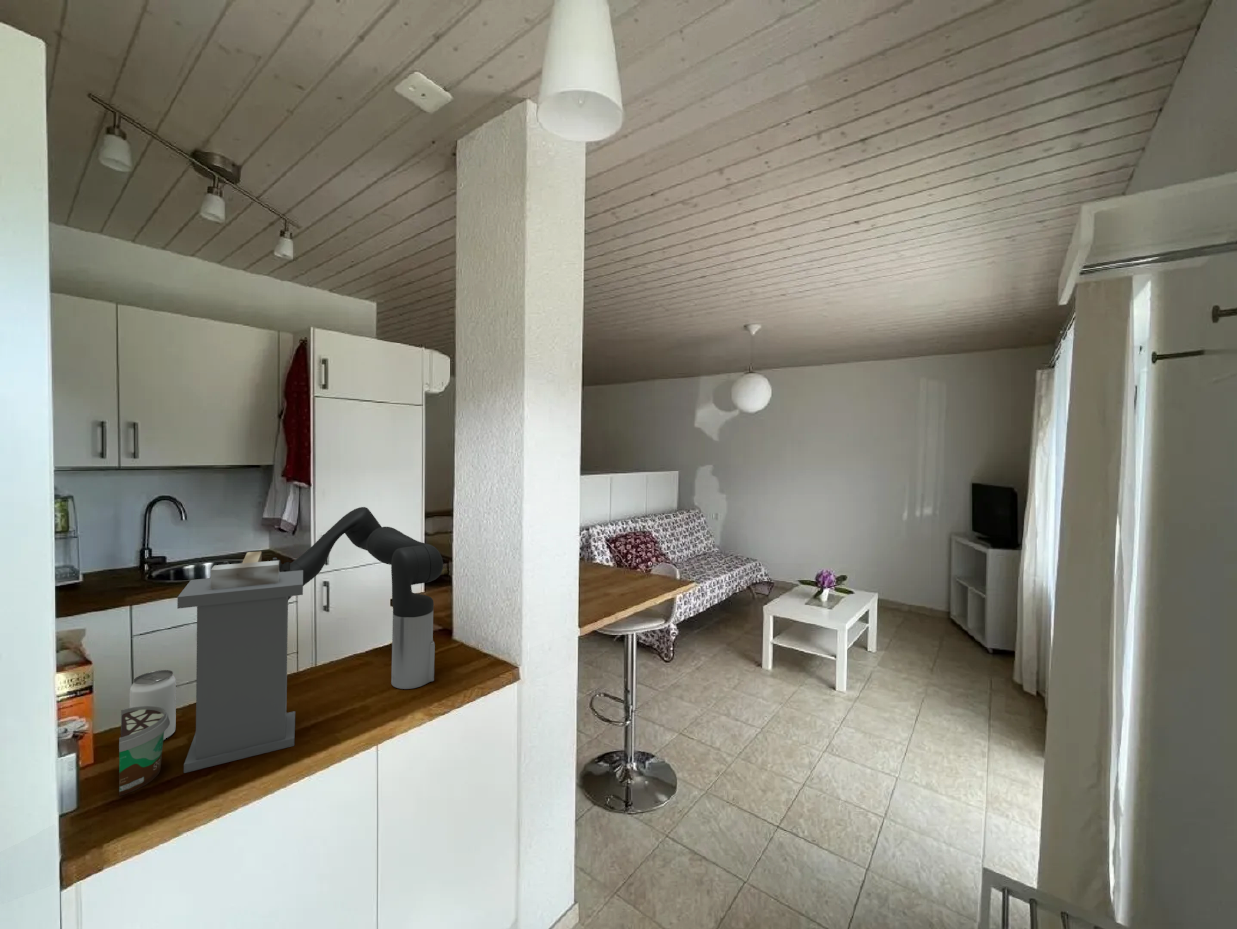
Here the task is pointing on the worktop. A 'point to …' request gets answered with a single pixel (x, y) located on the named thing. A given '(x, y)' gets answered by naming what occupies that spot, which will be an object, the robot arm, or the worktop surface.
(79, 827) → the worktop surface
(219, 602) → the stand
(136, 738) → the food container
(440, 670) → the worktop surface
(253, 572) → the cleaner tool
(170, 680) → the can
